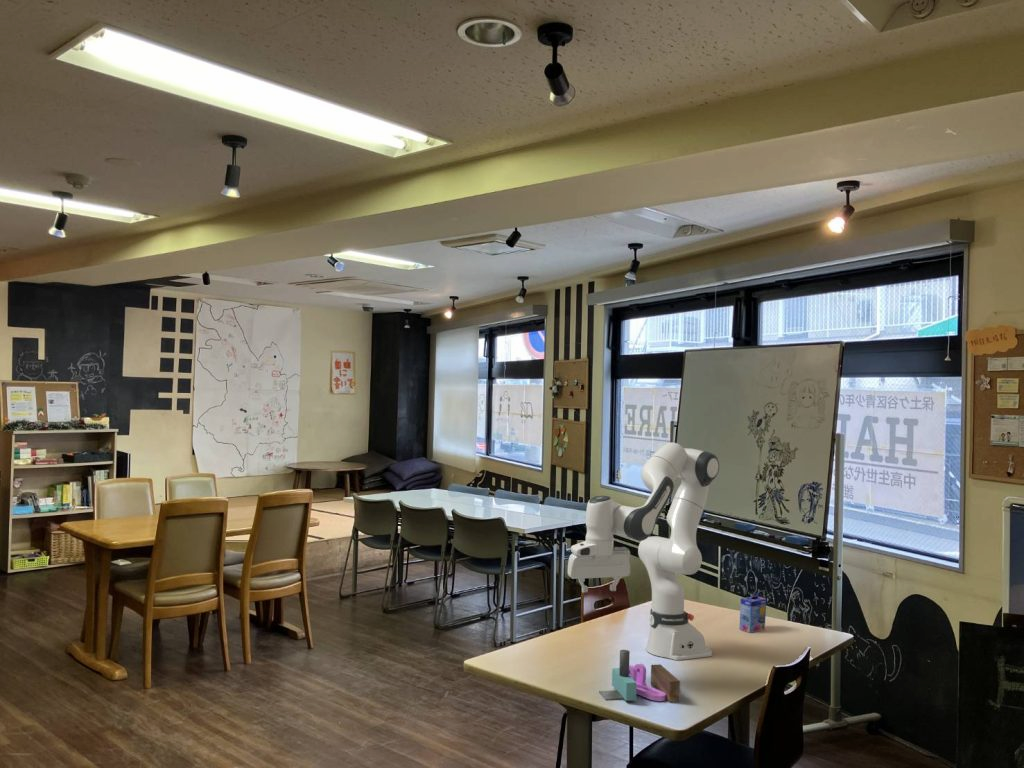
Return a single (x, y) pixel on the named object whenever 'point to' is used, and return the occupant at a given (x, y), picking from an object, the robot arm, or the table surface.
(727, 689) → the table surface
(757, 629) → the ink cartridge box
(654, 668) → the base
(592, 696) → the table surface
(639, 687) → the bracket
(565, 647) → the table surface
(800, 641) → the table surface
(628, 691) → the clamp jaw
